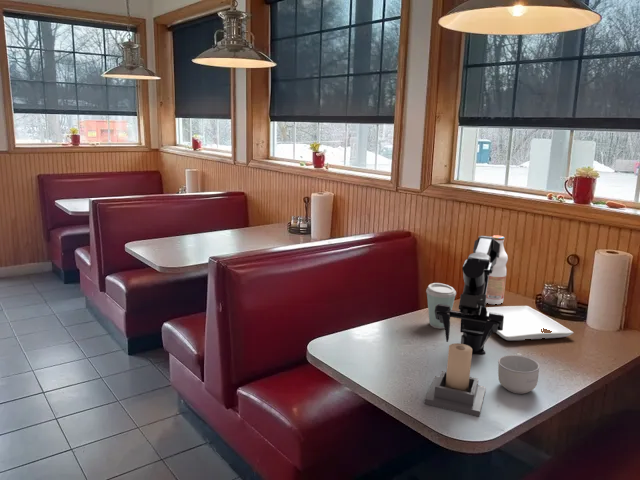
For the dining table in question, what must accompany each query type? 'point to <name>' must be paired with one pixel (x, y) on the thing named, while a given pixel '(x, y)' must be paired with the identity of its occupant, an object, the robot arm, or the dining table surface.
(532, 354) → the dining table surface
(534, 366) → the teacup
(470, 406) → the roll caddy
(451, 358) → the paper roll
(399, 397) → the dining table surface
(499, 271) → the fruit juice
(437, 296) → the disposable coffee cup
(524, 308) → the square plate
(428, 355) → the dining table surface
